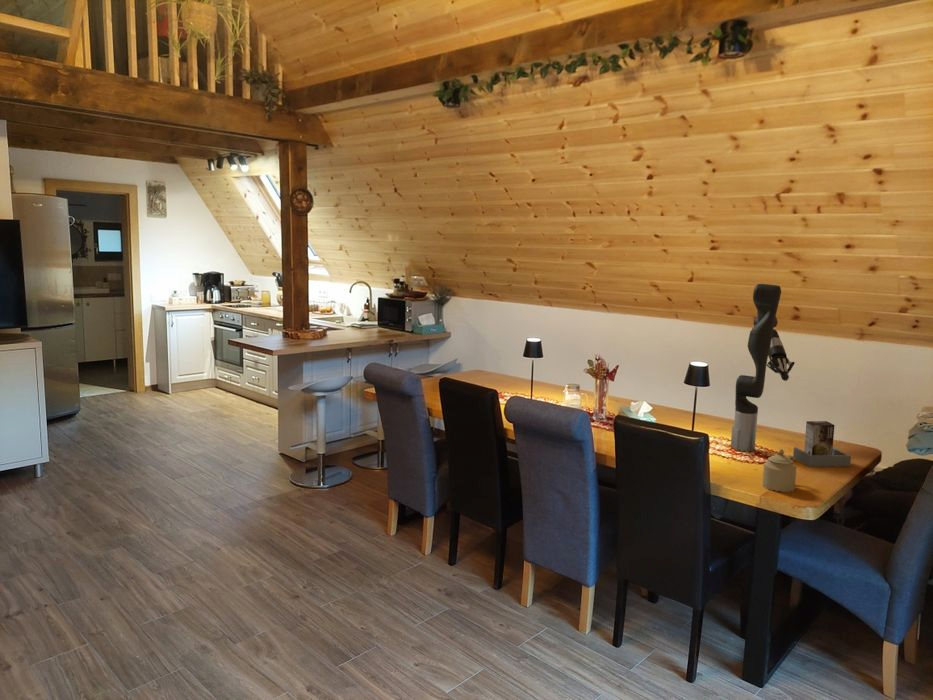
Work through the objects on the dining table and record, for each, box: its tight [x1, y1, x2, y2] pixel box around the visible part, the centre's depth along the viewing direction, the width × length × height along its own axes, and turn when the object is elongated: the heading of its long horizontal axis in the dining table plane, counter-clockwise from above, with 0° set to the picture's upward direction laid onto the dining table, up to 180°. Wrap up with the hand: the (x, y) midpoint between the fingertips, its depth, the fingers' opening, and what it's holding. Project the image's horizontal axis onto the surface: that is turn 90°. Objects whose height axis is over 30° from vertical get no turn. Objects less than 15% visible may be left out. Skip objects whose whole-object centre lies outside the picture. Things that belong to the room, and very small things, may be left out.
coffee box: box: [803, 420, 835, 455], centre depth 283 cm, size 9×6×16 cm
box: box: [792, 446, 852, 467], centre depth 280 cm, size 17×12×4 cm
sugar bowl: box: [762, 448, 797, 493], centre depth 250 cm, size 15×11×15 cm
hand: (786, 379), depth 303 cm, fingers closed
